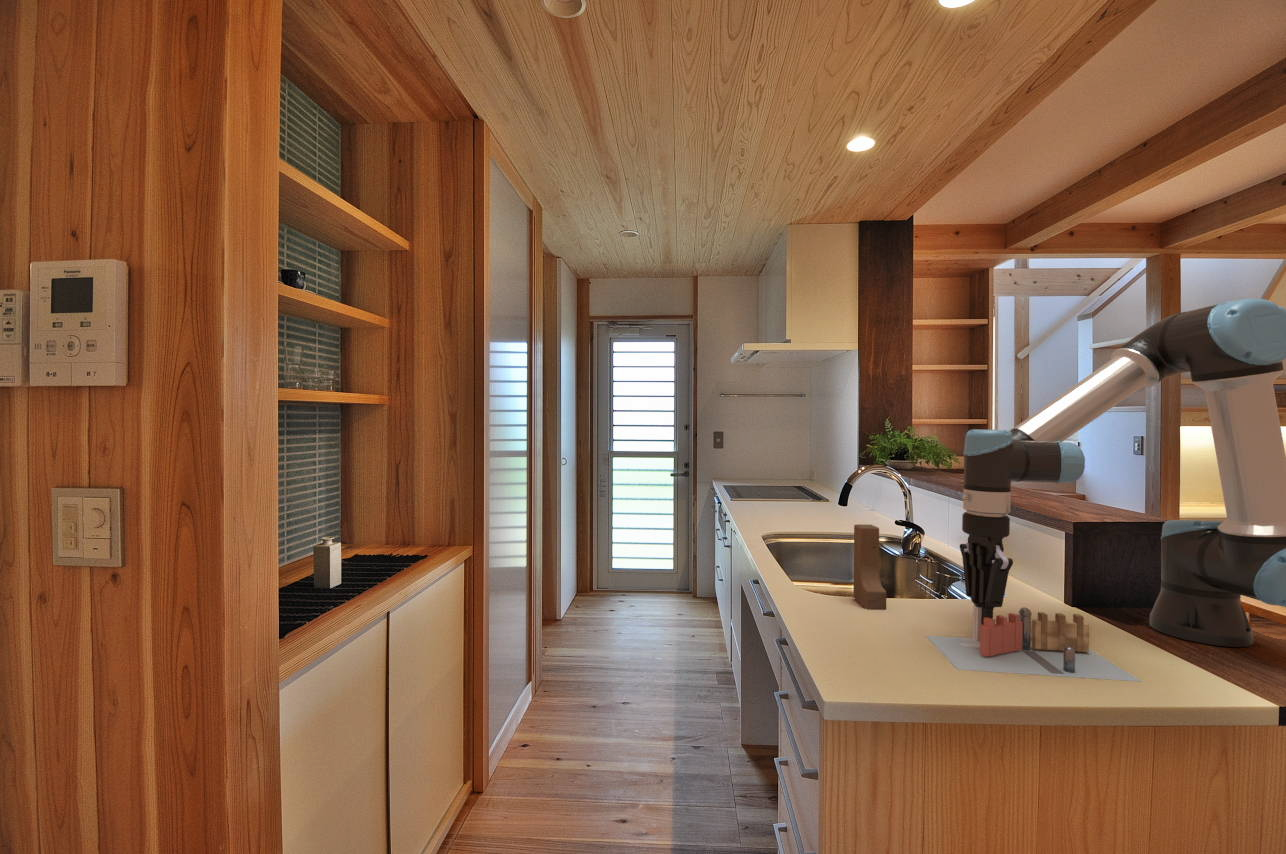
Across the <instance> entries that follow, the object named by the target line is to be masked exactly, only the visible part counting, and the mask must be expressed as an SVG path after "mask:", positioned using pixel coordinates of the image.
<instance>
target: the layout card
mask: <svg viewBox="0 0 1286 854" xmlns="http://www.w3.org/2000/svg"><path fill="white" fill-rule="evenodd" d="M925 637H926V638H927V639H928V641H930V642H931V643H932V644H933V645H934V646H935V647H936V648H937V650H939V652H940V653H941V654H942V655H943V656H944V657H945V658H946V659H947V660H948V661H949V662H950V663H951V664H952V666H954V667H955V669H956V670H958V671H959V670H960V671H972V672H973V671H974V672H987V673H988V672H989V673H1004V674H1019V675H1032V676H1033V675H1035V676H1049V677H1061V678H1062V677H1064V678H1079V679H1093V680H1111V681H1126V682H1136V683H1137V682H1138V683H1139V682H1140V683H1141V682H1142V683H1143V681H1142V680H1141V679H1139V678H1137V677H1136V676H1134V675H1133V674H1131V673H1129V672H1128V671H1126V670H1124V669H1123V668H1121V667H1120V666H1118V665H1116V664H1115V663H1113V662H1112V661H1111V660H1108V659H1107V658H1106V657H1103V656H1102V655H1100V654H1099V653H1097V652H1095V651H1093V650H1092V649H1090V648H1089V652H1077V651H1075V673H1069V672H1066V671H1064V670H1063V654H1064V651H1059V650H1043V649H1035V648H1033V647H1032V641H1031V648H1030V650H1029V651H1026V650H1018V651H1012V652H1007V653H1004V654H1003V653H1002V654H997V655H994V656H987V657H986V656H983V655H981V654H980V642H977V641H975V640H974V639H973V637H972V638H969V637H954V636H953V637H951V636H938V635H926V636H925Z"/></svg>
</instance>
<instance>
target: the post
mask: <svg viewBox="0 0 1286 854" xmlns="http://www.w3.org/2000/svg"><path fill="white" fill-rule="evenodd" d="M1018 615H1020V621H1021V622H1023V639H1022V650H1026V651H1029V650H1030V648H1031V642H1032V611H1031V610H1030V609H1029V608H1028V607H1025V606H1024V607H1020V608H1019V610H1018Z"/></svg>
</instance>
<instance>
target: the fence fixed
mask: <svg viewBox="0 0 1286 854" xmlns="http://www.w3.org/2000/svg"><path fill="white" fill-rule="evenodd" d="M1054 613H1055V614H1054V615H1055V617H1054V620H1050V619H1049V620H1048V618H1049V615H1048V614H1047V613H1045V612H1044V611H1043V612H1041V611H1039V612H1037V619H1031V642H1032V647H1033V648H1035V649H1043V650H1059V651H1064V646H1065V645H1067V646H1072V647H1075V651H1077V652H1089V649H1090V623H1087V622H1085V621H1084V619H1085V617H1084V616H1083V615H1082V614H1080V613H1078V614H1077V613H1073V615H1072V621H1066V619H1067V618H1066V617H1067V616H1066V615H1065V614H1063V613H1061V612H1054Z"/></svg>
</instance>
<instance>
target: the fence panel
mask: <svg viewBox="0 0 1286 854" xmlns="http://www.w3.org/2000/svg"><path fill="white" fill-rule="evenodd" d="M1022 639H1023V622H1021V621H1020V615H1019V614H1017V613H1014V612H1010V613H1009V612H1008V617H1007V616H1005V615H1001V614H998V615H995V618H993V619H992V618H989V617H985V618H984V626H980V654H981V655H983V656H986V657H987V656H994V655H997V654H1002V653H1003V654H1004V653H1007V652H1012V651H1018V650H1022Z"/></svg>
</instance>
